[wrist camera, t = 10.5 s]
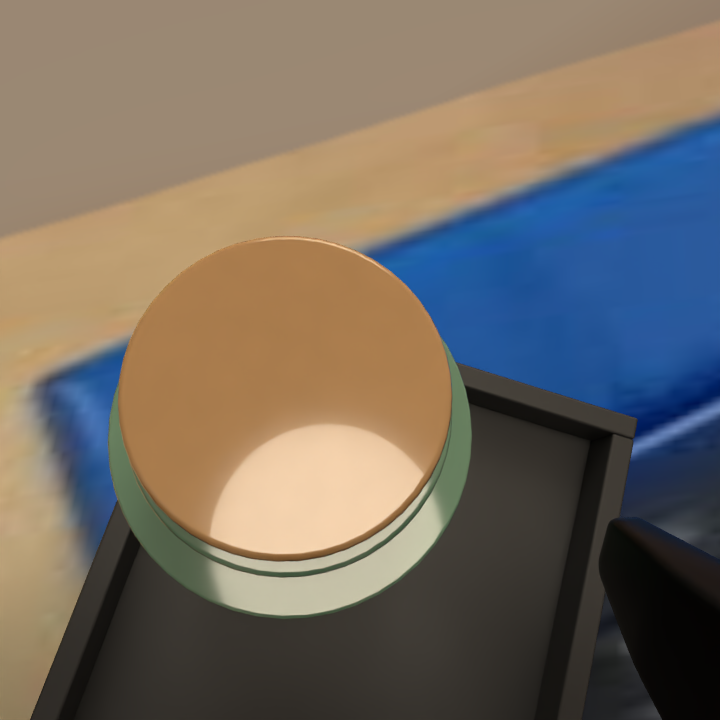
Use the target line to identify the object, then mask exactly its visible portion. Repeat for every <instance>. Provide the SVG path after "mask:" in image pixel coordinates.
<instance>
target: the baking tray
mask: <svg viewBox="0 0 720 720" xmlns="http://www.w3.org/2000/svg"><path fill="white" fill-rule="evenodd" d="M456 364H457V366H458V369H459V372H460V374H461V377H462V380H463V383H464V386H465V389H466V393H467V398H468V403H469V408H470V414H471V427H472V445H471V459H470V465H469V470H468V475H467V481H466V484H465V487H464V490H463V493H462V496H461V499H460V502H459V505H458V507H457V509H456V511H455V513H454V515H453V517H452V519H451V521H450V523H449V525H448V527H447V528H446V530H445V531H444V533H443V535H442V536H441V538H440V539H439V541H438V542H437V544H436V545H435V546H434V548H433V549H432V550H431V551H430V552H429V553H428V555H427V556H426V557H425V558H424V559H423V560H422V561H421V563H420V564H419V565H418V566H416V567H415V568H414V569H413V570H412V571H411V572H410V573H409V574H407V575H406V576H405V577H404V578H403V579H402V580H401V581H399V582H398V583H396V584H395V585H393V586H392V587H390V588H389V589H387V590H386V591H384V592H383V593H381V594H380V595H378V596H376V597H374V598H372V599H370V600H367V601H365V602H363V603H361V604H359V605H357V606H354V607H351V608H348V609H345V610H342V611H339V612H336V613H333V614H328V615H322V616H317V617H311V618H299V619H275V618H265V617H256V616H252V615H248V614H243V613H239V612H235V611H231V610H229V609H226V608H224V607H221V606H219V605H216V604H214V603H211V602H209V601H207V600H205V599H203V598H202V597H200V596H198V595H196V594H195V593H193V592H191V591H189V590H188V589H186V588H185V587H183V586H182V585H181V584H180V583H178V582H177V581H176V580H174V579H173V578H172V577H170V576H169V575H168V574H167V573H166V572H165V571H164V570H163V569H162V568H161V567H160V566H159V565H158V564H157V563H156V562H155V561H154V560H153V559H152V558H151V557H150V556H149V555H148V553H147V552H146V550H145V549H144V548H143V546H142V545H141V544H140V542H139V541H138V539H137V538H136V537H135V535H134V533H133V531H132V530H131V528H130V526H129V524H128V522H127V520H126V518H125V516H124V514H123V512H122V509H121V507H120V504H119V501H118V500H117V502H116V505H115V507H114V510H113V512H112V515H111V517H110V520H109V522H108V525H107V527H106V530H105V532H104V535H103V537H102V540H101V542H100V545H99V547H98V550H97V553H96V555H95V558H94V560H93V563H92V565H91V568H90V570H89V573H88V575H87V578H86V580H85V583H84V585H83V588H82V590H81V593H80V595H79V598H78V600H77V603H76V605H75V608H74V610H73V613H72V615H71V618H70V621H69V623H68V626H67V628H66V631H65V633H64V636H63V638H62V641H61V643H60V646H59V648H58V651H57V653H56V656H55V658H54V661H53V663H52V666H51V668H50V671H49V673H48V676H47V678H46V681H45V683H44V686H43V689H42V691H41V694H40V696H39V699H38V701H37V704H36V706H35V709H34V711H33V714H32V716H31V719H30V720H582V715H583V710H584V704H585V699H586V694H587V688H588V683H589V677H590V672H591V667H592V661H593V656H594V651H595V645H596V640H597V635H598V629H599V624H600V619H601V613H602V608H603V602H604V597H605V592H606V591H605V588H604V586H603V583H602V581H601V578H600V574H599V567H598V562H599V556H600V552H601V548H602V544H603V541H604V537H605V533H606V529H607V526H608V523H609V522H610V521H611V520H612V519H615V518H619V517H620V511H621V506H622V501H623V495H624V490H625V485H626V479H627V474H628V469H629V463H630V458H631V453H632V447H633V440H632V439H634V436H635V431H636V426H637V419H636V418H633V417H630V416H627V415H624V414H621V413H617V412H614V411H611V410H608V409H605V408H601V407H598V406H595V405H592V404H588V403H585V402H582V401H579V400H576V399H572V398H569V397H566V396H563V395H559V394H556V393H553V392H550V391H547V390H543V389H540V388H537V387H534V386H531V385H527V384H524V383H521V382H518V381H514V380H511V379H508V378H505V377H502V376H498V375H495V374H492V373H489V372H485V371H482V370H479V369H476V368H473V367H469V366H466V365H463V364H460V363H456Z"/></svg>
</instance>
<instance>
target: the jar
mask: <svg viewBox="0 0 720 720" xmlns="http://www.w3.org/2000/svg"><path fill="white" fill-rule="evenodd" d="M471 445H472V427H471V414H470V408H469V403H468V398H467V393H466V389H465V386H464V383H463V380H462V377H461V374H460V372H459V369H458V366H457V364H456V362H455V360H454V358H453V356H452V354H451V352H450V350H449V348H448V347H447V345H446V344H445V342H444V341H443V339H442V338H441V336H440V334H439V332H438V330H437V328H436V326H435V324H434V322H433V320H432V318H431V317H430V315H429V314H428V312H427V311H426V309H425V308H424V306H423V305H422V303H421V302H420V300H419V299H418V298H417V297H416V296H415V295H414V293H413V292H412V291H411V290H410V289H409V288H408V287H407V285H405V284H404V283H403V282H402V281H401V280H400V279H399V278H398V277H396V276H395V275H394V274H393V273H392V272H391V271H389V270H388V269H386V268H385V267H384V266H382V265H381V264H379V263H378V262H376V261H375V260H373V259H371V258H369V257H367V256H366V255H364V254H362V253H360V252H358V251H356V250H353V249H351V248H348V247H345V246H343V245H340V244H337V243H333V242H329V241H325V240H321V239H316V238H308V237H300V236H275V237H266V238H258V239H253V240H249V241H245V242H241V243H237V244H234V245H231V246H229V247H226V248H223V249H221V250H218V251H216V252H214V253H212V254H210V255H208V256H206V257H204V258H202V259H200V260H199V261H197V262H196V263H194V264H193V265H191V266H190V267H188V268H187V269H186V270H184V271H183V272H181V273H180V274H179V275H178V276H177V277H176V278H175V279H173V280H172V281H171V282H170V283H169V284H168V285H167V286H166V287H165V288H164V289H163V290H162V291H161V292H160V293H159V295H158V296H157V297H156V298H155V299H154V300H153V301H152V303H151V304H150V306H149V307H148V309H147V310H146V312H145V313H144V315H143V316H142V317H141V319H140V321H139V323H138V325H137V327H136V329H135V331H134V333H133V335H132V337H131V339H130V341H129V344H128V347H127V350H126V353H125V356H124V359H123V363H122V368H121V373H120V378H119V382H118V385H117V388H116V391H115V394H114V398H113V403H112V408H111V413H110V418H109V433H108V451H109V465H110V471H111V476H112V480H113V485H114V490H115V493H116V496H117V498H118V501H119V504H120V507H121V509H122V512H123V514H124V516H125V518H126V520H127V522H128V524H129V526H130V528H131V530H132V531H133V533H134V535H135V537H136V538H137V539H138V541H139V542H140V544H141V545H142V546H143V548H144V549H145V550H146V552H147V553H148V555H149V556H150V557H151V558H152V559H153V560H154V561H155V562H156V563H157V564H158V565H159V566H160V567H161V568H162V569H163V570H164V571H165V572H166V573H167V574H168V575H169V576H170V577H172V578H173V579H174V580H176V581H177V582H178V583H180V584H181V585H182V586H183V587H185V588H186V589H188V590H189V591H191V592H193V593H195V594H196V595H198V596H200V597H202V598H203V599H205V600H207V601H209V602H211V603H214V604H216V605H219V606H221V607H224V608H226V609H229V610H231V611H235V612H239V613H243V614H248V615H252V616H256V617H265V618H275V619H299V618H311V617H317V616H322V615H328V614H333V613H336V612H339V611H342V610H345V609H348V608H351V607H354V606H357V605H359V604H361V603H363V602H365V601H367V600H370V599H372V598H374V597H376V596H378V595H380V594H381V593H383V592H384V591H386V590H387V589H389V588H390V587H392V586H393V585H395V584H396V583H398V582H399V581H401V580H402V579H403V578H404V577H405V576H406V575H407V574H409V573H410V572H411V571H412V570H413V569H414V568H415V567H416V566H418V565H419V564H420V563H421V561H422V560H423V559H424V558H425V557H426V556H427V555H428V553H429V552H430V551H431V550H432V549H433V548H434V546H435V545H436V544H437V542H438V541H439V539H440V538H441V536H442V535H443V533H444V531H445V530H446V528H447V527H448V525H449V523H450V521H451V519H452V517H453V515H454V513H455V511H456V509H457V507H458V505H459V502H460V499H461V496H462V493H463V490H464V487H465V484H466V481H467V475H468V470H469V465H470V459H471Z"/></svg>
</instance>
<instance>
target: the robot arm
mask: <svg viewBox="0 0 720 720" xmlns="http://www.w3.org/2000/svg"><path fill="white" fill-rule="evenodd" d="M598 567H599V574H600V578H601V581H602V583H603V586H604V588H605V591H606V594H607V596H608V599H609V601H610V604H611V607H612V609H613V612H614V614H615V617H616V620H617V622H618V625H619V627H620V630H621V633H622V635H623V638H624V640H625V643H626V646H627V648H628V651H629V653H630V656H631V658H632V660H633V663H634V665H635V667H636V669H637V671H638V673H639V676H640V678H641V680H642V682H643V684H644V686H645V687H646V689H647V691H648V693H649V695H650V697H651V699H652V701H653V703H654V705H655V707H656V709H657V711H658V712H659V714H660V716H661V718H662V720H720V560H719V559H717V558H715V557H713V556H711V555H709V554H708V553H706V552H704V551H702V550H700V549H698V548H696V547H694V546H692V545H690V544H688V543H686V542H685V541H683V540H681V539H679V538H677V537H675V536H673V535H671V534H669V533H667V532H665V531H664V530H662V529H660V528H658V527H656V526H654V525H652V524H650V523H648V522H646V521H644V520H643V519H640V518H636V517H632V518H615V519H612V520H611V521H610V522H609V523H608V526H607V529H606V533H605V537H604V541H603V544H602V548H601V552H600V556H599V562H598Z"/></svg>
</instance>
